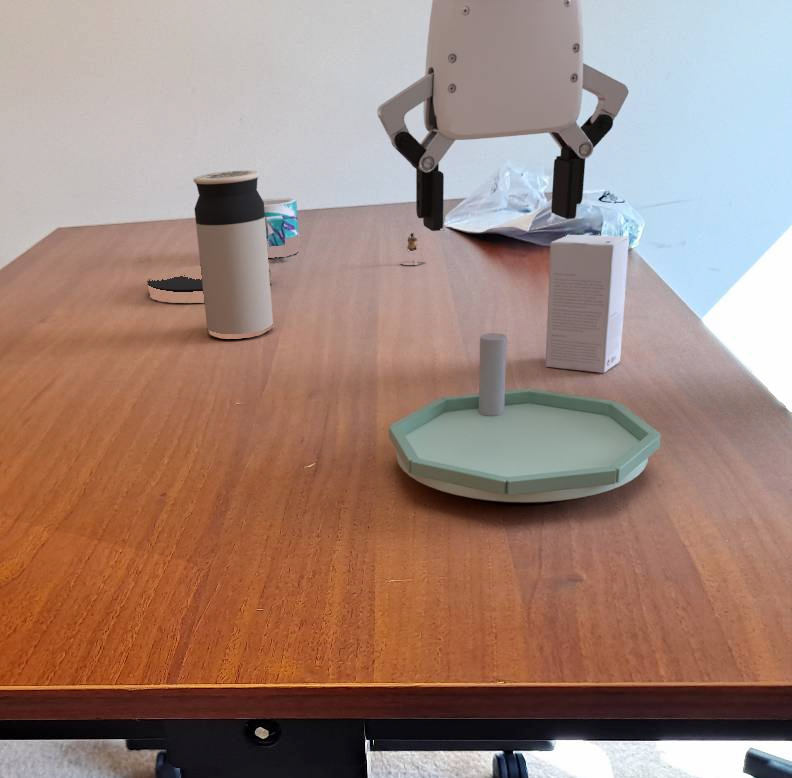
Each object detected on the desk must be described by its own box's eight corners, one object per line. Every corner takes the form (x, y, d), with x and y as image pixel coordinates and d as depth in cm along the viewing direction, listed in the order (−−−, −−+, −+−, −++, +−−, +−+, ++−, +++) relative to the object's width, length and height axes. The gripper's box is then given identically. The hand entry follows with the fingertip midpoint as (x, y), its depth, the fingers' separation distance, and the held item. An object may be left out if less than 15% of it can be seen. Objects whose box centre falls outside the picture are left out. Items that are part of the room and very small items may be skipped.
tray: (591, 402, 81) (597, 318, 78) (694, 486, 65) (707, 385, 61) (376, 424, 80) (373, 341, 77) (426, 515, 64) (426, 414, 61)
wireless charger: (294, 278, 143) (293, 264, 142) (223, 307, 130) (222, 292, 129) (198, 273, 152) (196, 260, 151) (123, 300, 140) (121, 286, 139)
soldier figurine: (421, 263, 145) (421, 232, 143) (416, 264, 144) (416, 234, 142) (410, 262, 147) (409, 231, 145) (405, 263, 146) (404, 233, 144)
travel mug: (285, 326, 118) (274, 169, 110) (250, 343, 113) (235, 179, 105) (232, 322, 122) (217, 170, 115) (194, 338, 117) (176, 180, 109)
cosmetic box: (621, 362, 95) (632, 235, 89) (603, 374, 92) (614, 244, 86) (561, 355, 98) (568, 233, 93) (542, 367, 95) (549, 241, 90)
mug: (297, 247, 165) (294, 196, 162) (304, 260, 155) (301, 205, 151) (249, 252, 165) (244, 200, 162) (253, 265, 155) (248, 210, 151)
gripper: (614, -55, 67) (594, 205, 74) (365, -35, 66) (370, 225, 74) (664, -69, 60) (636, 219, 68) (388, -47, 60) (391, 241, 67)
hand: (498, 222), depth 71 cm, fingers open, 9 cm apart
